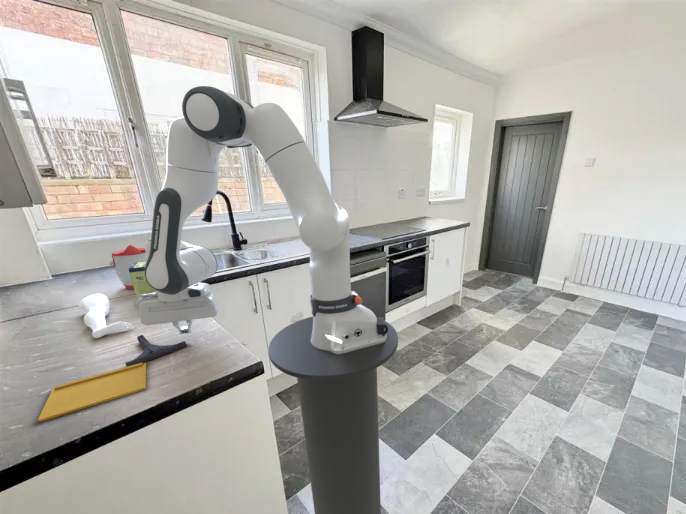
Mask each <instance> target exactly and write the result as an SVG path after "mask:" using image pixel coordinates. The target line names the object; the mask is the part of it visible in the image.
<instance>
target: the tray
mask: <svg viewBox="0 0 686 514" xmlns="http://www.w3.org/2000/svg"><path fill="white" fill-rule="evenodd" d="M146 389H147V362H144V363H143V362H142V363H138V364H135V365H131V366H124V367H120V368H117V369H113V370H109V371H106V372H105V371H104V372H102V373H98V374H95V375H91V376H87V377H84V378H81V379H77V380H73V381H69V382H65V383H62V384H58V385H55V386H54V387H52V389H51V392H50V393H49V396H48V398H47V400H46V402H45V404H44V406H43V408H42V411H41V412H40V415H39V416H38V419H37V422H38V423H42V422H45V421H48V420H51V419H55V418H58V417H62V416H64V415H67V414H71V413H74V412H78V411H80V410H84V409H87V408H90V407H93V406H96V405H97V406H98V405H99V404H103V403H106V402H109V401H114V400H116V399H119V398H121V397H125V396H129V395H131V394H135V393H138V392H141V391H144V390H146Z"/></svg>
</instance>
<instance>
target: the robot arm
mask: <svg viewBox="0 0 686 514" xmlns="http://www.w3.org/2000/svg"><path fill="white" fill-rule="evenodd" d="M181 103H182V104H181V111H182V117H177V118H175V119H173V120H172V121H171V123H170V124H169V129H168V134H167V141H166V170H165V171H166V173H165V178H164V182H163V185H162V188H161V190H159V192H158V194H157V196H156V198H155V202H154V207H153V214H152V215H153V216H152V227H151V236H150V237H151V238H150V239H147V240H146V242H145V245H144V248H145V251H146V257H147V262H146V266H145V278H146V281H147V282H148V284H149V285H150V286H151V287H152V288H153V289H155V290H156V293H150V294H141V295H140V296H138V297H136V298H135V304H136V306H137V308H138V314H139V318H140V323H141V324H142V325H144V326H154V325H161V324H170V323H171V324H172V326H173V327H174V328H176V329H177V330H178V332H179V335H186V334H192V333H193V327H192V325H193V323H194V322H195V321H194V320H200V319H201V320H202V319H209V318H216V317H217V315H218V314H219V312H220V306H219V303H218V301H217V298H216V296H215V294H214V293H213V292H212V291H211V286H210V284H209V283H207V282H203V281H205V280H207V279H210V278H211V277H213V276H215V274H216V273H217V271H218V268H219V267H218V266H219V265H218V264H219V263H218V260H217V257H216V256H215V254H214V253H213V251H211V250H210V249H209V248H207V247H205V246H199V245H195V244H191V243H189V242H187V241H184V240H182V237H183V236H182V235H183V228H184V225H185V222H186V221H187V219H188V218H189V217H190V216H191V215H192V214H193V213H195V211H197V210H198V209H200V208H202V207H203V206H205V205H207V204H209V203H210V202H211V201H212V200H213V199H214V198H215V197H216V195H217V192H218V188H219V176H220V174H219V173H220V172H219V171H220V170H219V169H220V168H219V165H220V164H219V162H220V154H221V152H222V151H223V149H225V148H228V149H237V148H247V147H250V146H253V147H254V148H255V150H256V151H257V152H258V154H259V156H260V157H261V159H262V161H263V163H264V164H265V166H266V167H267V169H268V171H269V172H270V175H271V176H272V178H273V179H274V181H275V183H276V185H277V186H278V188H279V189H280V191H281V193H282V196H283V197H284V199H285V202H286V204H287V207H288V209H289V211H290V213H291V216H292V218H293V221H294V223H295V225H296V227H297V230H298V233H299V237H300V239H301V242H302V243H303V244H304V245H305V246H306V247H308V248H309V249H310V250H309V265H308V266H309V267H308V271H309V280H310V282H309V283H310V291H311V294H310V300H309V302H310V303H309V304H310V311H311V314H312V316H313V329H312V336H311V344H312V345H313V346H314V347H316V348H318V349H322V350H327V351H330V352H332V353H334V354H343V353H346V352H350V351H354V350H358V349H361V348H365V347H369V346H373V345H376V344H380V343H383V342H385V341H386V339H387V334H386V333H387V332H388V327H387V325H386V324H385V323H384V321H385V317H384V316H378V317H377V315H376V314H375V313H374V312H373V310H372V309H370V308H368V307H366V306H364V305H363V304H362V303H363V299H362V297H361V296H359V294H358V293H357V292H356V291H355V290H352V283H351V282H352V281H351V253H350V252H351V251H350V248H351V247H350V246H351V245H350V244H351V243H350V242H351V241H350V219H349V214H348V212H347V211H346V210H345V208H344V207H343V206H342V205H340V204H338V203H336V201H335V199H334V197H333V195H332V194H331V191H330V189H329V187H328V184H327V182H326V179H325V177H324V174H323V172H322V170H321V168H320V167H319V165H318V163H317V161H316V159H315V157H314V155H313V154H312V152H311V150H310V148H309V146H308V144H307V143H306V140H305V139H304V137H303V135H302V134H301V132H300V131H299V129H298V128H297V126H296V124H295V123H294V121H293V120H292V118H291V117H290V116H289V115H288V113H287V112H286V111H285V110H284V108H282V107H281V106H280V105H279V104H277V103H273V102H263V103H260V104H258V105H256V106H255V107H254V106H253V105H252V104H251V103H249V102H247V101H245V100H243V99H241V98H239V97H238V96H236V95H234V94H233V93H231V92H228V91H225V90H221V89H219V88H218V87H217V88H216V87H213V86H210V85H209V86H208V85H199V86H195V87H192V88H190V89H189V90H187V92H186V93H185V95H184V96H183V100H182V102H181ZM376 317H377V318H376ZM181 322H186V324H188V325H186V326H183V325H182V324H181ZM385 329H386V330H385Z"/></svg>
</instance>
